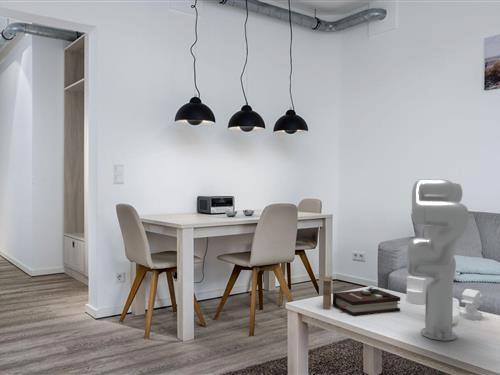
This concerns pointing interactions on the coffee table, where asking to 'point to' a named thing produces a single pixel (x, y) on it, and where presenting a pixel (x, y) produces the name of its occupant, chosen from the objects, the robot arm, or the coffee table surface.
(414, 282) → the cylinder with rectangular tab
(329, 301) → the bookend
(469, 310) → the character figurine
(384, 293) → the decorative book
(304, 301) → the coffee table surface
